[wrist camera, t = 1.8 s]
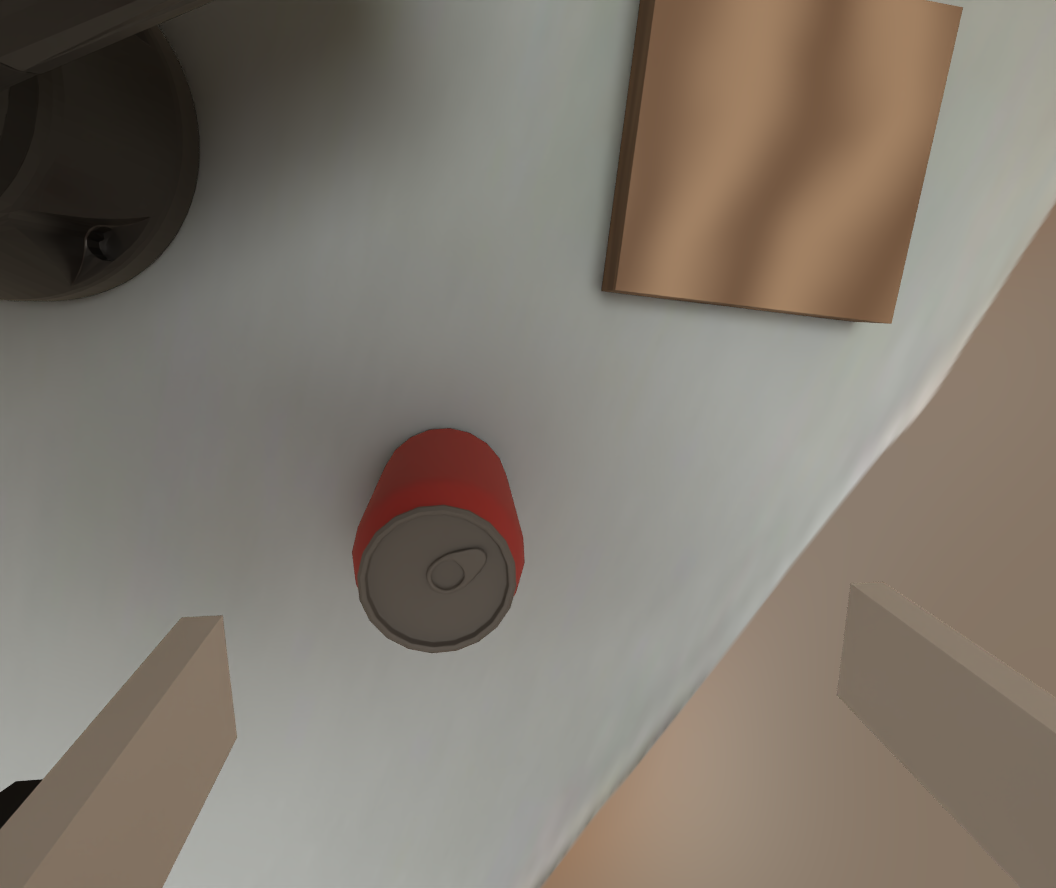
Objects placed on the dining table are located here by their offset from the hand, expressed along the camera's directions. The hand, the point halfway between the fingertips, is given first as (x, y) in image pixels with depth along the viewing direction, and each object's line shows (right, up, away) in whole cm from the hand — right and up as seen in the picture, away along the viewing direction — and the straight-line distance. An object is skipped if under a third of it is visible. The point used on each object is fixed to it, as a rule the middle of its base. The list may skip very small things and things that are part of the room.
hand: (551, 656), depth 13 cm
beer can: (-5, +2, +21) cm, 22 cm away
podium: (+11, +18, +19) cm, 28 cm away
